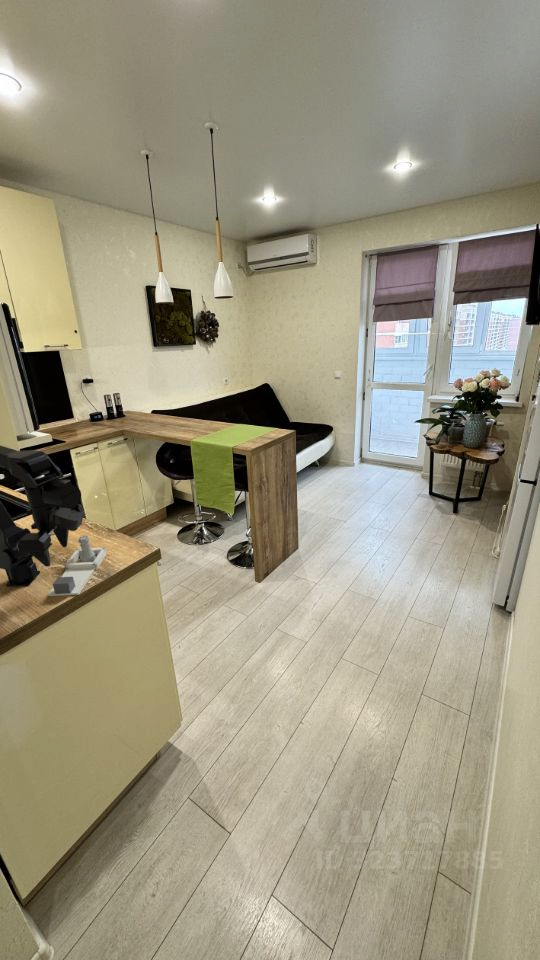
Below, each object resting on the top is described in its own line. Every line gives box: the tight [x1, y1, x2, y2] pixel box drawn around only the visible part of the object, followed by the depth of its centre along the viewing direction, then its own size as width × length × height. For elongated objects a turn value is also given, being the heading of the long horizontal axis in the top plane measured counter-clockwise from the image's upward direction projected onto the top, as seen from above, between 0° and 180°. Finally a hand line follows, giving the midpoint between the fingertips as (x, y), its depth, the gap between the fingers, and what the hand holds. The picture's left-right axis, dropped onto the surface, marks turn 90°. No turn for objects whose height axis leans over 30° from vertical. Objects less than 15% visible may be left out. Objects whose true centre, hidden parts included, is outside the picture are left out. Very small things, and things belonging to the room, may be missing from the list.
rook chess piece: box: [77, 534, 97, 563], centre depth 115 cm, size 4×4×8 cm
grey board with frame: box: [47, 547, 108, 597], centre depth 110 cm, size 9×20×4 cm, turn 3°
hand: (56, 556), depth 99 cm, fingers open, 9 cm apart
